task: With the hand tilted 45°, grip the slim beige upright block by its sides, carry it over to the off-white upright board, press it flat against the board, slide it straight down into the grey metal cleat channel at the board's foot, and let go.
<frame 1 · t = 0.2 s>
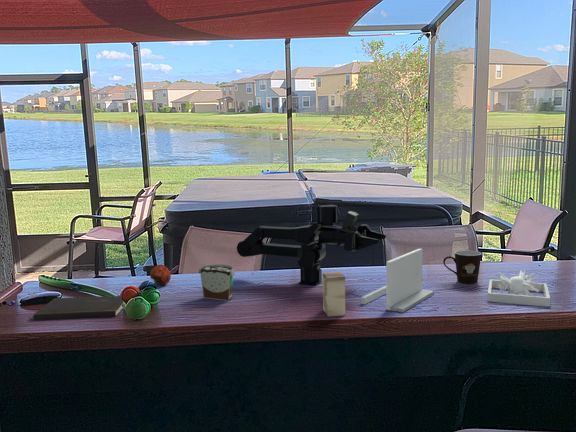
hand: (382, 239, 170), 17 cm above the table, tool horizontal, fingers open, 9 cm apart
pomegranate: (160, 285, 184), on the table
spiky ball: (516, 296, 161), resting in white flat square tray
beige upright block: (334, 312, 150), on the table
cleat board: (381, 303, 156), on the table
food container: (221, 297, 168), on the table
hardcover book: (84, 312, 158), on the table
white flat square tray: (517, 296, 161), on the table
coffee mug: (462, 281, 179), on the table
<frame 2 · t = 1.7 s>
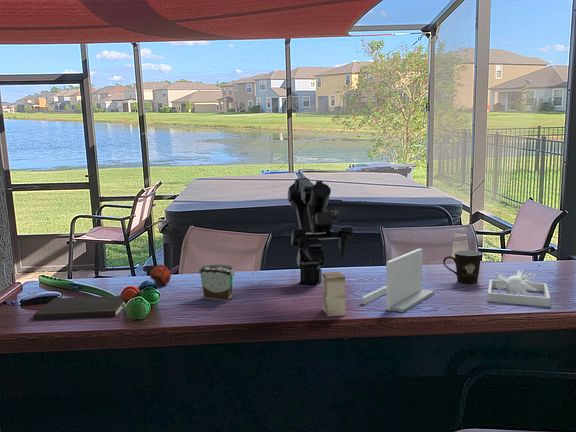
hand: (327, 259, 156), 14 cm above the table, tool tilted 45°, fingers open, 9 cm apart
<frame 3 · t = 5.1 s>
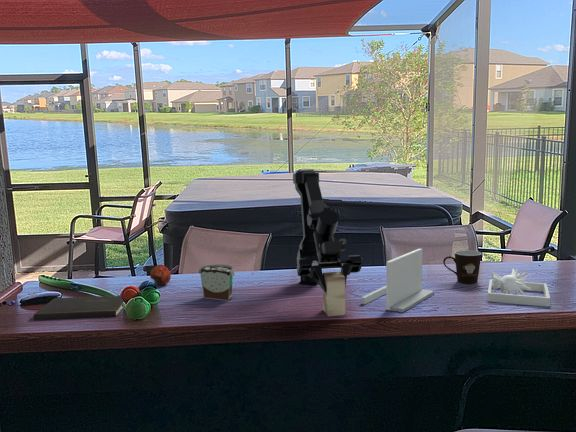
hand: (335, 291, 147), 7 cm above the table, tool tilted 45°, fingers closed on beige upright block, 5 cm apart
spiky ball: (509, 295, 163), resting in white flat square tray
beige upright block: (334, 312, 150), on the table, touching gripper
everything else where it was.
when the fingers open (8 cm above the table, at t = 12.3 s): beige upright block drops 1 cm, resting in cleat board.
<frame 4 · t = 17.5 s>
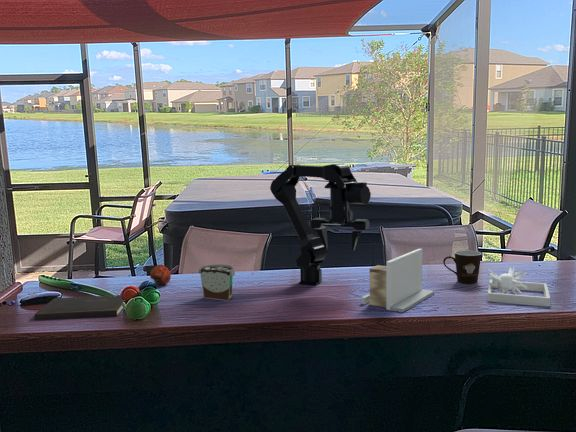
hand: (339, 249, 172), 13 cm above the table, tool pointing down, fingers open, 9 cm apart
spiky ball: (506, 293, 164), resting in white flat square tray
beige upright block: (382, 304, 156), resting in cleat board
everything else where it was.
at the end: beige upright block 0.5 cm off-centre on the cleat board, point 0.0 cm above the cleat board's base; beige upright block tilted 0°; the gripper is holding nothing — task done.
